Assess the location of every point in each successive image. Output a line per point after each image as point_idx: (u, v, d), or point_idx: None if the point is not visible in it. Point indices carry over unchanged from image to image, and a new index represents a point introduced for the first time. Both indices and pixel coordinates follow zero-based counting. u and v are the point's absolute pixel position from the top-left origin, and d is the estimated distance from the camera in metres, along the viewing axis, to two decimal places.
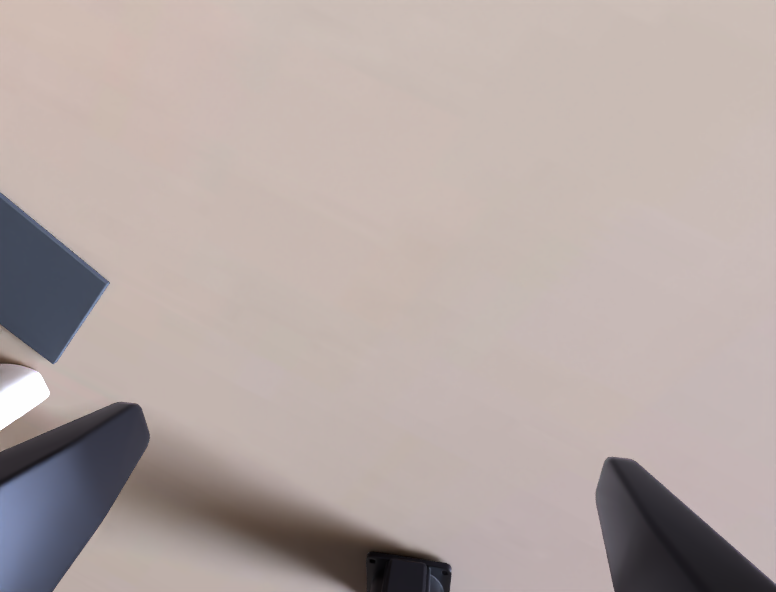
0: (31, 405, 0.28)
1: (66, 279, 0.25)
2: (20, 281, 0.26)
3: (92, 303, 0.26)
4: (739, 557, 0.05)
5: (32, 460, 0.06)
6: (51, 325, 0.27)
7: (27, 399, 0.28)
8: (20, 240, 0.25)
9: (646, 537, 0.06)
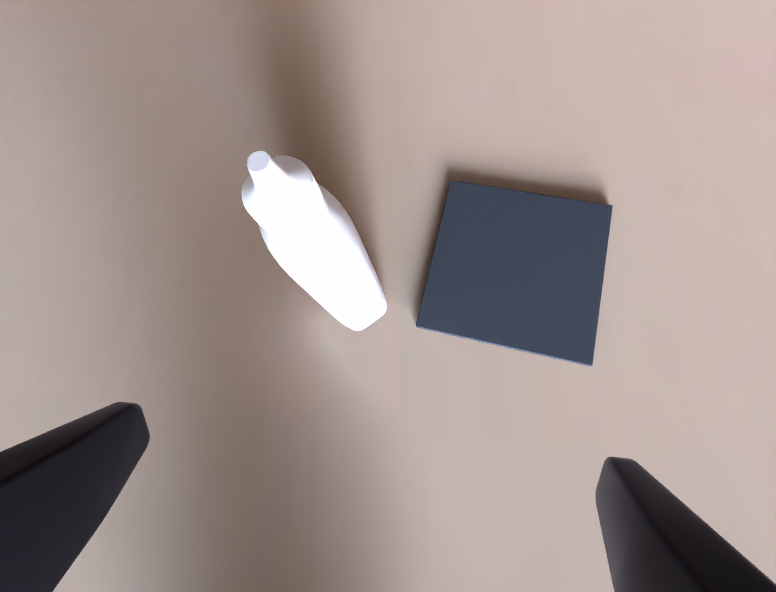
0: (356, 325, 0.21)
1: (560, 317, 0.21)
2: (516, 268, 0.22)
3: (550, 355, 0.21)
4: (740, 558, 0.05)
5: (32, 460, 0.06)
6: (478, 313, 0.22)
7: (366, 319, 0.21)
8: (572, 259, 0.22)
9: (646, 537, 0.05)
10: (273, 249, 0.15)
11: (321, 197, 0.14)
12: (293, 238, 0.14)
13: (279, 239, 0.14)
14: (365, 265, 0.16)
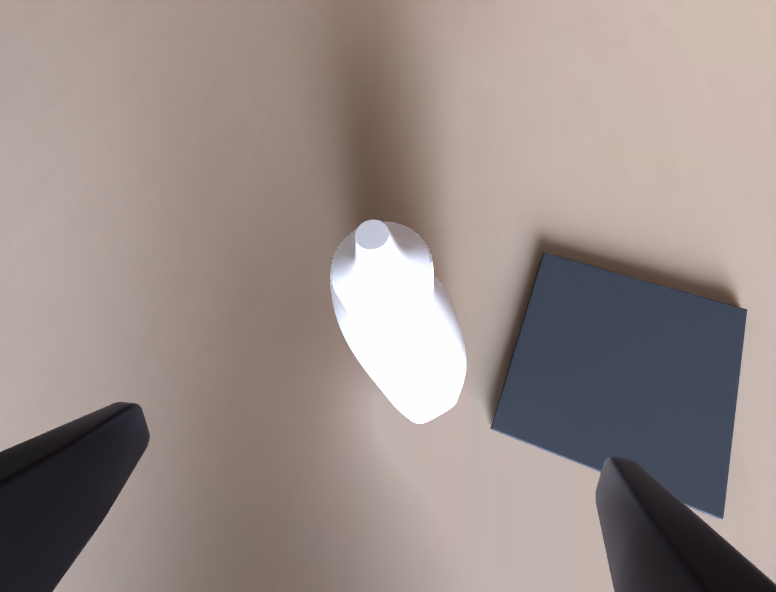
0: (421, 421, 0.17)
1: (680, 446, 0.16)
2: (623, 372, 0.18)
3: None
4: (740, 558, 0.05)
5: (32, 460, 0.06)
6: (571, 423, 0.17)
7: (435, 415, 0.17)
8: (695, 371, 0.17)
9: (646, 537, 0.05)
10: (350, 334, 0.12)
11: None
12: (387, 330, 0.10)
13: (366, 329, 0.10)
14: (466, 368, 0.12)
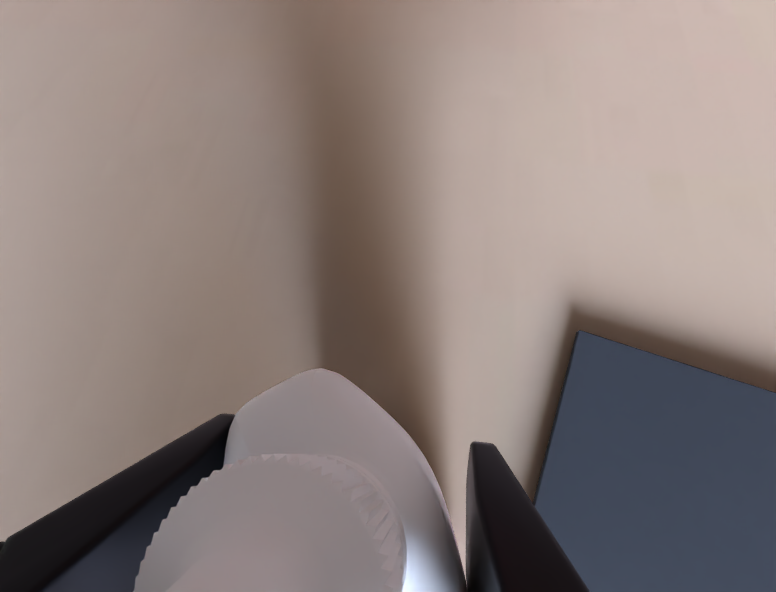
0: None
1: None
2: (703, 525, 0.12)
3: None
4: (543, 530, 0.05)
5: (162, 478, 0.06)
6: None
7: None
8: None
9: (475, 514, 0.06)
10: None
11: (400, 575, 0.04)
12: None
13: None
14: None
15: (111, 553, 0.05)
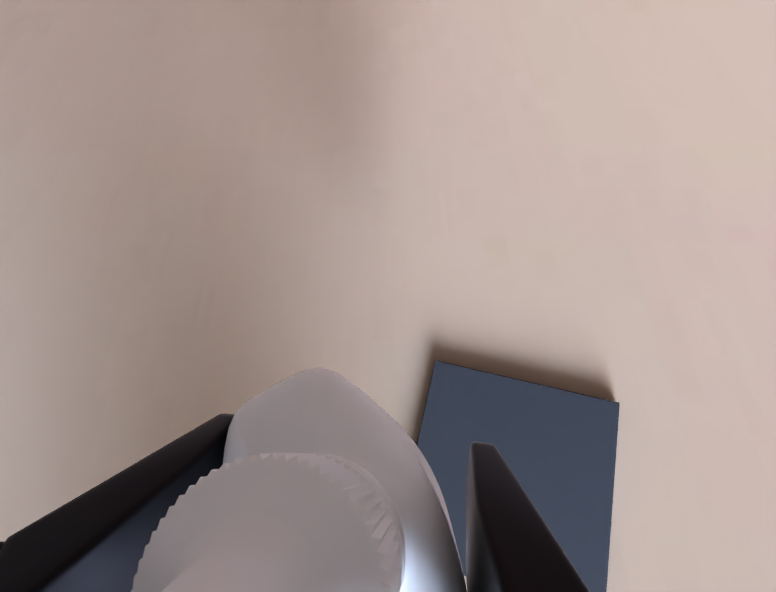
0: None
1: (564, 550, 0.18)
2: None
3: None
4: (543, 531, 0.05)
5: (162, 478, 0.06)
6: None
7: None
8: (575, 471, 0.19)
9: (475, 514, 0.06)
10: None
11: (398, 574, 0.04)
12: None
13: None
14: None
15: (111, 553, 0.05)
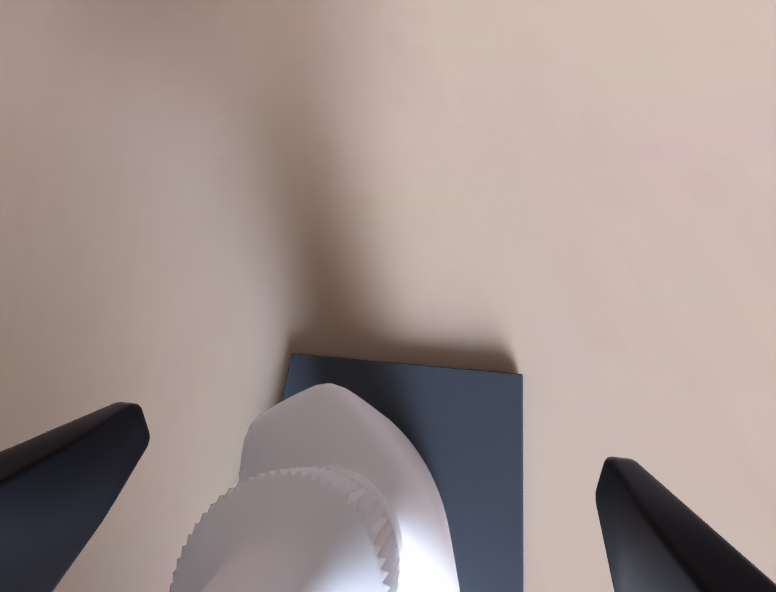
0: None
1: (464, 585, 0.13)
2: None
3: None
4: (738, 557, 0.05)
5: (32, 460, 0.06)
6: None
7: None
8: (473, 473, 0.14)
9: (646, 537, 0.05)
10: None
11: (397, 575, 0.05)
12: None
13: None
14: None
15: None
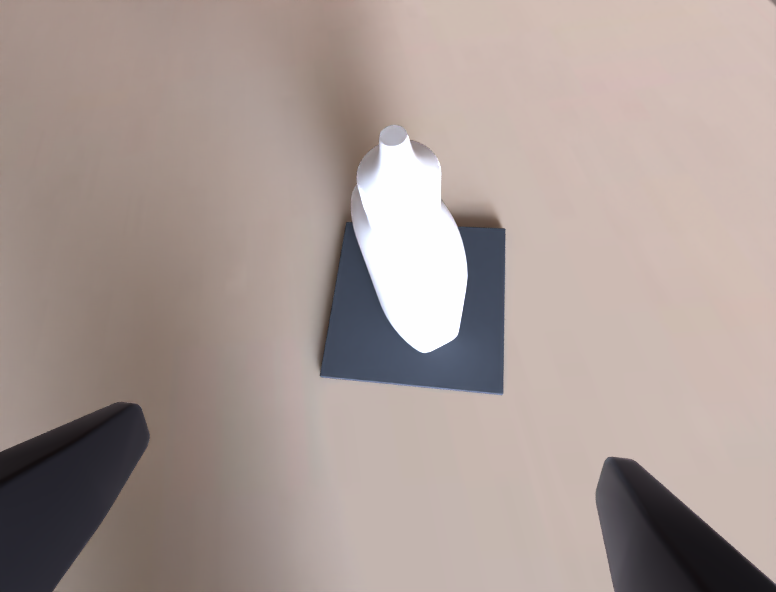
0: (427, 345, 0.19)
1: (466, 347, 0.20)
2: None
3: (460, 388, 0.19)
4: (740, 558, 0.05)
5: (32, 460, 0.06)
6: (382, 354, 0.21)
7: (438, 340, 0.19)
8: (471, 286, 0.21)
9: (646, 537, 0.05)
10: (369, 244, 0.14)
11: (439, 192, 0.12)
12: (401, 233, 0.12)
13: (384, 232, 0.13)
14: (466, 277, 0.14)
15: None
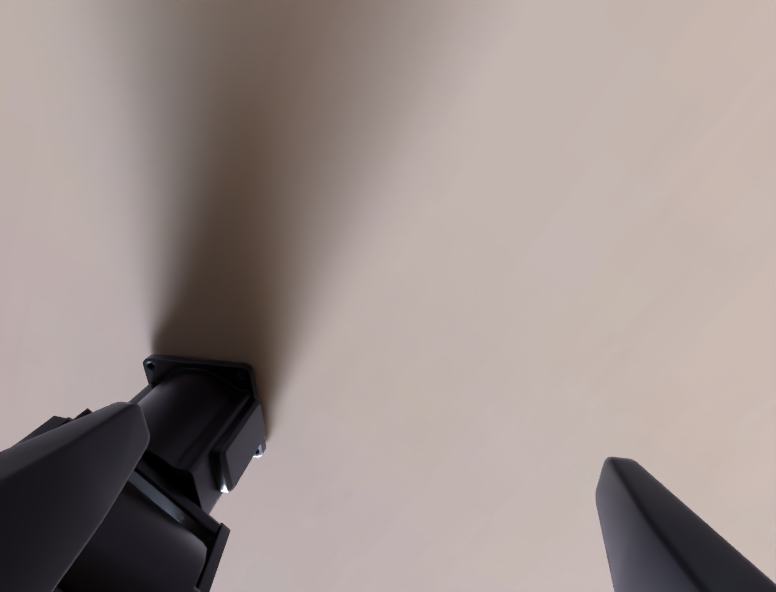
0: None
1: None
2: None
3: None
4: (739, 558, 0.05)
5: (32, 460, 0.06)
6: None
7: None
8: None
9: (646, 537, 0.06)
10: None
11: None
12: None
13: None
14: None
15: None
